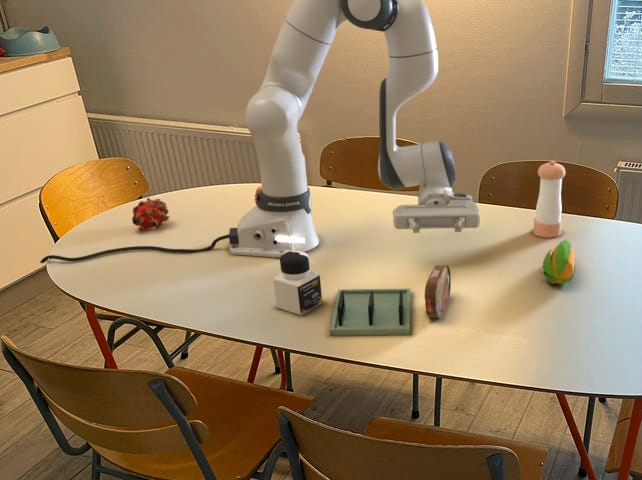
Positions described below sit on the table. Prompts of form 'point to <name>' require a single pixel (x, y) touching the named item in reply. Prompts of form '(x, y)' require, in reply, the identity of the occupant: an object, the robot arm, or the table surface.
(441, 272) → the tin
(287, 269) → the medicine bottle
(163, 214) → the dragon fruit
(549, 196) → the pepper shaker
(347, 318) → the drying rack
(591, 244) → the table surface
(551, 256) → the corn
